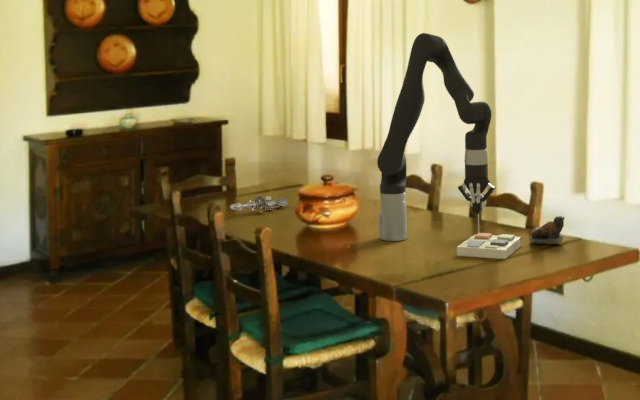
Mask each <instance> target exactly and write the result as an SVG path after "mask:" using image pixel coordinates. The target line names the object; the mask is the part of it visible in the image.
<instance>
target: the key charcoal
mask: <svg viewBox="0 0 640 400" xmlns="http://www.w3.org/2000/svg"><path fill="white" fill-rule="evenodd" d="M507 244H508V240H499V239H494V240H493V241H491V242H490V245H495V246H506V245H507Z"/></svg>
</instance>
